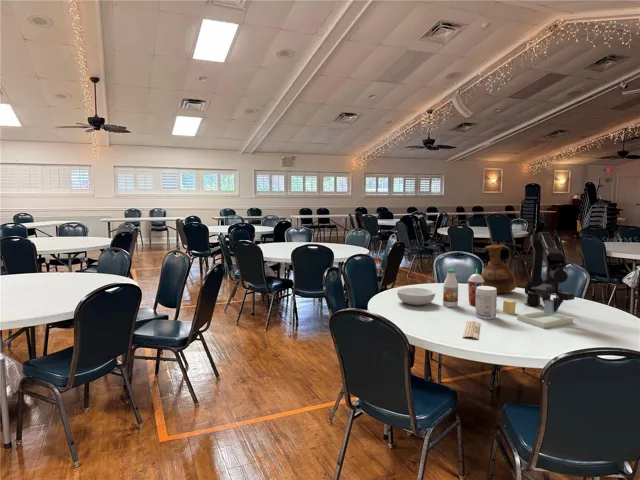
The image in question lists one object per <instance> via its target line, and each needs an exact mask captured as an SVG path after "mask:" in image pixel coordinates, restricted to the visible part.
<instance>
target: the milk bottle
mask: <svg viewBox="0 0 640 480" xmlns="http://www.w3.org/2000/svg"><path fill="white" fill-rule="evenodd" d="M456 273H457V271H456V269H455V268H454V269H453V268H447V270H446V274H447V275H446V278H445V280H443V281H444V282H443V290H442V293H443V295H442V306H444V307H447V308H456V307H458V306H459V282H458V280H457V277H456Z"/></svg>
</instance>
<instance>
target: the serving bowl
mask: <svg viewBox="0 0 640 480" xmlns="http://www.w3.org/2000/svg"><path fill="white" fill-rule="evenodd" d="M396 295H397V297H398V298H399V301H401V302H403V303H405V304H408V305H411V304H412V305H411V306H423V305H427V304H430V303H432V301H434V299H435V297H436V292H435V290H432V289H428V288H423V287H404V288H400V289H397V290H396Z"/></svg>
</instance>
